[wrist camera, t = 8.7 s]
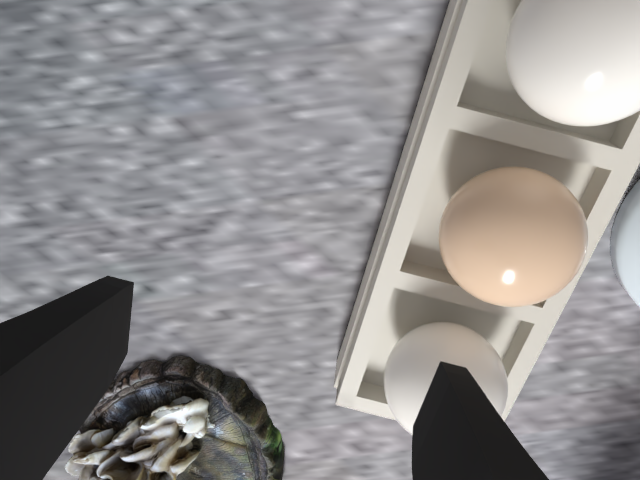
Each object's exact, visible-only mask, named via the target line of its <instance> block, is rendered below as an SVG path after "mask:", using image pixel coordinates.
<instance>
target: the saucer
mask: <svg viewBox="0 0 640 480" xmlns="http://www.w3.org/2000/svg"><path fill="white" fill-rule="evenodd" d="M610 255H611V261H612V266H613V269H614V272H615V275H616V277H617V279H618V280H619V282H620V284H621V286H622V287H623V288H624V289H625V291H626V292H627V293H628V294H629V296H630V297H631V298H632V299H633V300H634V302H635V303H636V304H637V305H638V306H639V307H640V179H639V180H638V181H637V183H636V184H635V185H634V186H633V188H632V189H631V190H630V192H629V193H628V195H627V196H626V198H625V200H624V201H623V203H622V204H621V207H620V209H619V211H618V213H617V216H616V218H615V221H614V225H613V228H612V233H611V240H610Z"/></svg>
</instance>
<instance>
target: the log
mask: <svg viewBox="0 0 640 480" xmlns="http://www.w3.org/2000/svg"><path fill="white" fill-rule="evenodd" d="M79 430H80V432H81V434H77V435H75V436H74V437H73V438H72V440H71V442H70V444H69V447H68V448H69V450H68V451H69V452H70V453H73V454H74V455H73V456H72V457H71V458H70V459H69V461H68V462H67V463H66V465H65V469H66V471H67V472H68V473H69V474H70V475H72V476H78V475H79V479H78V480H282V473H283V460H284V445H283V442H282V438H281V434H280V432H279V430H278V429H277V428H276V427H275V426H274V425H273V423H272V421H271V419H270V418H269V416H268V414H267V409H266V406H265V404H264V403H263V402H261V401H259V400H257V399H256V398H254V397H253V393H252V392H251V391H250V390H249V388H248V386H247V385H246V383H245V382H244V381H243V380H242V379H239V378H233V377H229V376H225V375H224V374H223V373H222V372H221V371H220V370H218V369H215V368H213V367H211V366H209V365H201V364H199V363H197V362H195V361H194V360H193V359H191V358H190V357H185V356H177V357H173V358H171V359H169V360H168V361H167V362H165V363H164V362H160V361H157V360H149V361H146V362H141V364H140V365H139V367H137V368H136V369H134V370H133V371H125V372H122V373H121V374H120V375H118V377H117V379H116V380H113V381H112V383H111V384H110V386H109V388H108V390H107V391H106V393H105V394H104V395H103V397H102V398H101V400H100V401H99V403H98V404H97V405H96V407H95V408H94V409H93V411H92V412H91V414H90V415H89V416H88V418H87V419H86V420H85V422H84V423H83V425H82V426H81V427H80V429H79Z"/></svg>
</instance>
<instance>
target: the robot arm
mask: <svg viewBox="0 0 640 480" xmlns="http://www.w3.org/2000/svg"><path fill="white" fill-rule="evenodd" d="M133 286H134V282H130V281H126V280H122V279H118V278H114V277H110V276H106V277H104V278H101V279H99V280H97V281H95V282H92V283H90V284H88V285H86V286H84V287H82V288H80V289H77V290H75V291H73V292H71V293H69V294H67V295H65V296H63V297H60V298H58V299H56V300H54V301H52V302H49V303H47V304H45V305H43V306H40V307H38V308H36V309H34V310H32V311H29V312H27V313H25V314H22V315H20V316H17V317H15V318H12V319H10V320H7V321H5V322H2V323H0V480H43V478H44V477H45V475H46V474H47V472H48V471H49V469H50V468H51V467H52V465H53V464H54V463H55V461H56V460H57V459H58V457H59V456H60V454H61V453H62V452H63V450H64V449H65V448H66V446H67V445H68V444H69V442H70V441H71V440H72V438H73V437H74V435H75V434H76V433H77V431H78V430H79V429H80V427H81V426H82V425H83V423H84V422H85V420H86V419H87V418H88V416H89V415H90V414H91V412H92V411H93V409H94V408H95V407H96V405H97V404H98V403H99V401H100V400H101V398H102V397H103V395H104V394H105V393H106V391H107V390H108V388H109V386H110V384H111V383H112V381H113V379H114V377H115V375H116V374H117V372H118V370H119V368H120V366H121V364H122V362H123V361H124V359H125V357H126V355H127V352H128V341H129V330H130V319H131V308H132V297H133ZM412 475H413V480H549V479H548V478H547V477H546V475H545V474H544V473H543V472H542V470H541V469H540V468H539V467H538V465H537V464H536V463H535V462H534V461H533V459H532V458H531V457H530V456H529V454H528V453H527V452H526V450H525V449H524V448H523V446H522V445H521V444H520V443H519V441H518V440H517V439H516V437H515V436H514V434H513V433H512V432H511V430H510V429H509V428H508V426H507V425H506V423H505V422H504V421H503V419H502V418H501V416H500V415H499V414H498V412H497V411H496V409H495V408H494V406H493V405H492V403H491V402H490V401H489V399H488V398H487V396H486V395H485V393H484V392H483V390H482V389H481V388H480V386H479V385H478V383H477V382H476V380H475V379H474V377H473V376H472V375H471V373H470V372H469V371H468V369H467V368H466V367H462V366H458V365H454V364H450V363H446V362H442V361H440V363H439V366H438V368H437V370H436V373H435V375H434V377H433V380H432V382H431V384H430V387H429V389H428V392H427V394H426V396H425V399H424V401H423V403H422V406H421V408H420V410H419V413H418V415H417V418H416V420H415V422H414V425H413V437H412Z"/></svg>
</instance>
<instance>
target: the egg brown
mask: <svg viewBox="0 0 640 480" xmlns="http://www.w3.org/2000/svg"><path fill="white" fill-rule="evenodd" d="M587 246H588V227H587V222H586V218H585V215H584V212H583V210H582V207H581V206H580V204H579V202H578V200H577V199H576V198H575V196H574V195H573V194H572V193H571V191H570V190H569V189H568V188H567V187H566V186H565V185H564V184H562V183H561V182H560V181H558V180H557V179H555V178H554V177H552V176H550V175H548V174H546V173H544V172H541V171H538V170H535V169H532V168H526V167H517V166H511V167H501V168H496V169H492V170H488V171H485V172H483V173H481V174H479V175H476V176H475V177H473V178H471V179H470V180H468V181H467V182H466V183H465V184H463V185H462V186H461V187H460V188H459V189H458V190H457V191H456V192H455V194H454V195H453V196H452V197H451V199H450V200H449V202H448V204H447V205H446V207H445V209H444V212H443V214H442V217H441V221H440V226H439V247H440V253H441V257H442V260H443V262H444V264H445V266H446V268H447V270H448V272H449V274H450V275H451V276H452V278H453V279H454V280H455V281H456V282H457V283H458V285H459V286H460V287H461V288H463V289H464V290H465V291H466V292H468V293H469V294H471V295H472V296H474V297H476V298H477V299H480V300H482V301H484V302H487V303H490V304H494V305H498V306H503V307H522V306H528V305H533V304H537V303H539V302H542V301H545V300H547V299H549V298H551V297H553V296H554V295H556V294H557V293H559V292H560V291H561V290H563V289H564V288H565V287H566V286H567V285H568V284H569V283H570V282H571V281H572V280H573V278H574V277H575V276H576V274H577V273H578V271H579V269H580V268H581V266H582V263H583V261H584V258H585V255H586V251H587Z"/></svg>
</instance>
